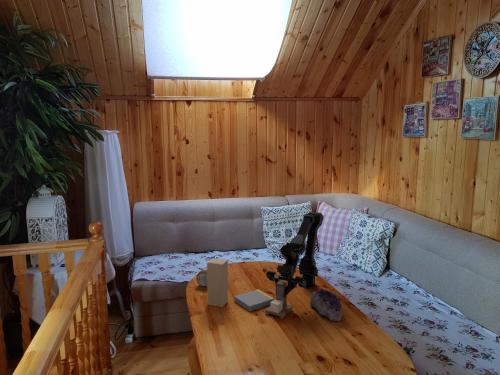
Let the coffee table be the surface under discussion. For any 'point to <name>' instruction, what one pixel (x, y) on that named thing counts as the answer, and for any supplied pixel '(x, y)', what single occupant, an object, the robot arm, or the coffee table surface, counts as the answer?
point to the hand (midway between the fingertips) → (280, 296)
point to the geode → (327, 305)
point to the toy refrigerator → (217, 282)
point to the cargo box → (276, 306)
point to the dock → (253, 300)
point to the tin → (202, 278)
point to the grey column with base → (279, 296)
